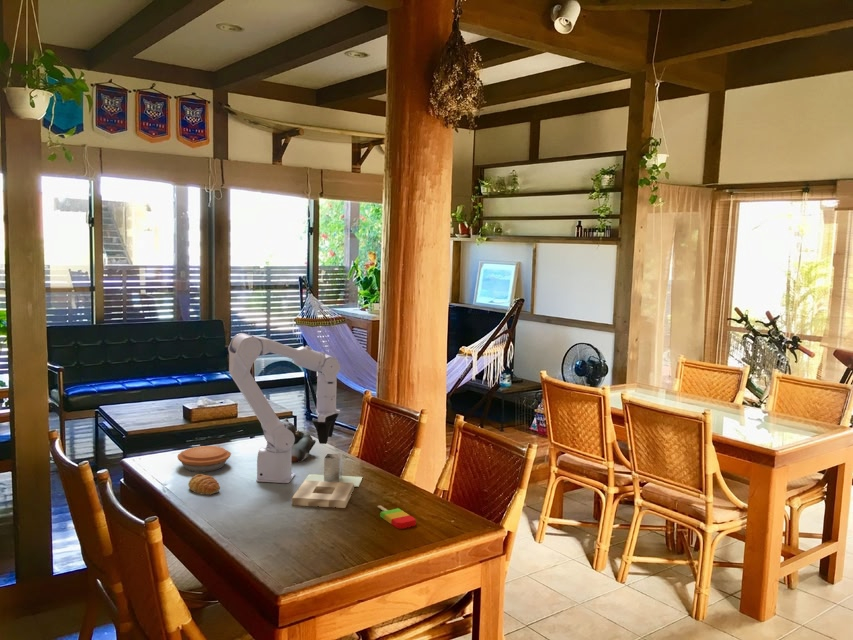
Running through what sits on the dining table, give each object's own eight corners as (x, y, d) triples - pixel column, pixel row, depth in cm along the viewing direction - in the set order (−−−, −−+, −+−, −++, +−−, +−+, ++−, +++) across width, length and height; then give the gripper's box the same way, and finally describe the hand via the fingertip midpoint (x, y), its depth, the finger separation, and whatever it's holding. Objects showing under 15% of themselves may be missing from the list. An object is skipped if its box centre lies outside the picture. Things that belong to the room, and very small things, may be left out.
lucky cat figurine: (301, 465, 220) (279, 427, 217) (272, 474, 225) (250, 437, 222) (322, 440, 233) (302, 404, 230) (294, 449, 238) (273, 414, 235)
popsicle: (398, 531, 173) (399, 523, 173) (369, 510, 185) (369, 504, 185) (417, 527, 176) (418, 519, 176) (387, 507, 188) (387, 500, 188)
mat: (302, 484, 202) (302, 483, 202) (308, 475, 210) (308, 474, 210) (358, 487, 201) (358, 486, 201) (362, 478, 209) (362, 476, 209)
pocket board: (292, 505, 186) (292, 497, 186) (304, 487, 200) (304, 480, 200) (345, 508, 185) (345, 500, 185) (353, 489, 199) (353, 482, 199)
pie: (201, 477, 205) (201, 461, 205) (166, 467, 214) (166, 451, 213) (241, 465, 218) (241, 449, 218) (207, 455, 227) (207, 440, 226)
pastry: (226, 492, 195) (226, 478, 195) (205, 498, 190) (205, 484, 189) (206, 484, 201) (206, 471, 200) (185, 490, 196) (185, 476, 195)
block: (323, 482, 204) (324, 458, 203) (327, 477, 208) (327, 453, 207) (339, 482, 203) (339, 459, 203) (342, 477, 208) (342, 454, 207)
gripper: (335, 401, 204) (334, 447, 205) (344, 391, 218) (343, 434, 220) (311, 400, 204) (310, 446, 206) (321, 389, 219) (320, 433, 220)
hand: (325, 440), depth 213 cm, fingers open, 7 cm apart
